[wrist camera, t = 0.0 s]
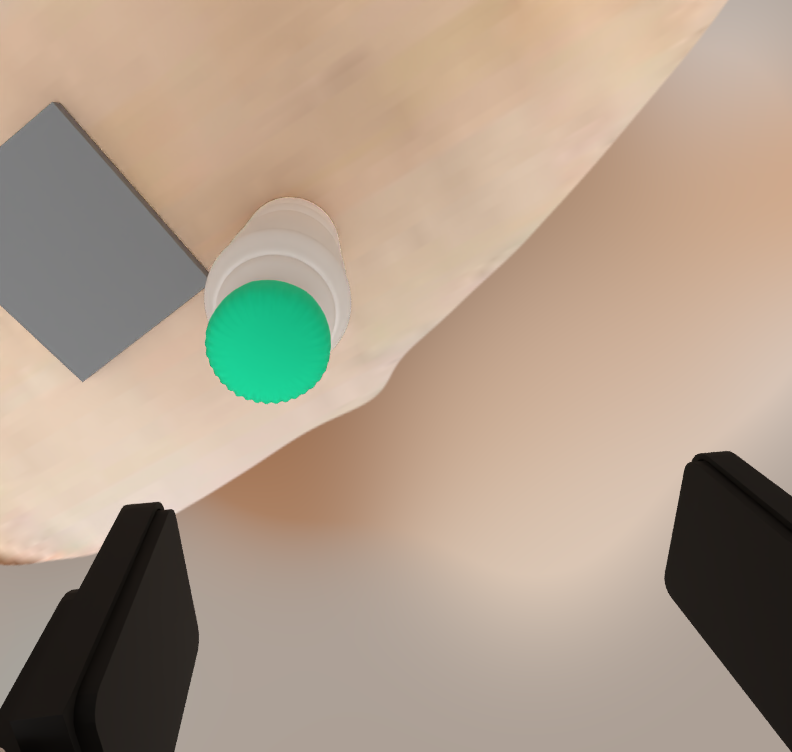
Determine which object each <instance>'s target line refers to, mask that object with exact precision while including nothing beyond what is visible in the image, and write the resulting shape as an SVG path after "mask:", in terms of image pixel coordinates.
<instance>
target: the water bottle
mask: <svg viewBox="0 0 792 752" xmlns="http://www.w3.org/2000/svg"><path fill="white" fill-rule="evenodd" d="M204 304H205V311H206V316H207V319H208V322H209V324H208V327H207V330H206V340H205V346H206V355H207V357H208V358H209V363H210V366H211V367H212V368H213V370H214V374H215V375H216V376H218V377H219V379H220V382H221V383H222V384H225V385H226V386H227V388H228V390H230V391H234V393H235V394H236V396H243V397H244V398H245V399H246V400H253V401H254V402H256V403H259V402H263V403H265V404H268V403H270V402H273V403H275V404H278V403H279V402H281V401H283V402H288V401H289V400H290V399H291V398H292V399H296V398H297V397H298V396H299V395H301V394H305V393H306V392H307V391H308V390H309V389H312V388H313V387H314V386H315V384H316V382H318V381H319V380H320V379H321V377H322V375H323V373H324V372H325V371H326V368H327V364H328V361H329V357H330V352H331V351H332V350H333V349H334V348H335V346H336V345H337V344H338V343H339V341H340V340H341V338H342V336H343V334H344V332H345V330H346V328H347V325H348V322H349V318H350V313H351V291H350V286H349V282H348V279H347V276H346V270H345V265H344V261H343V257H342V254H341V247H340V243H339V237H338V233H337V230H336V228H335V225H334V224H333V222H332V220H331V219H330V217H329V216H328V215H327V214H326V213H325V212H324V211H323V210H322V209H321V208H320V207H319V206H317V205H316V204H314V203H312V202H310V201H308V200H305V199H302V198H296V197H283V198H278V199H275V200H272V201H270V202H268V203H266V204H264V205H263V206H262V207H260V208H259V209H258V210H257V211H256V212H255V213H254V214H253V216H252V217H251V219H250V220H249V221H248V222H247V223H246V225H245V226H244V228H243V229H242V230H241V231H240V232H239V233H238V234H237V235H236V236H235V237H234V239H233V240H232V241H231V243H230V244H229V245H228V246H227V247H226V248H225V249H224V250H223V251H222V252H221V253H220V254H219V256H218V257H217V258H216V260H215V261H214V263H213V265H212V267H211V269H210V271H209V274H208V277H207V280H206V285H205V292H204Z"/></svg>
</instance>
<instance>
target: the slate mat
mask: <svg viewBox="0 0 792 752" xmlns="http://www.w3.org/2000/svg"><path fill="white" fill-rule="evenodd" d="M208 274H209V273H208V272H207V271H206V270H205V268H204V267H203V266H202V265H201V264H200V263H199V262H198V260H197V259H196V258H195V257H194V256H193V255H192V254H191V252H190V251H189V250H188V249H187V248H186V247H185V246H184V244H183V243H182V242H181V241H180V240H179V239H178V238H177V236H176V235H175V234H174V233H173V232H172V231H171V230H170V228H169V227H168V226H167V225H166V224H165V223H164V222H163V220H162V219H161V218H160V217H159V216H158V215H157V214H156V212H155V211H154V210H153V209H152V208H151V207H150V206H149V204H148V203H147V202H146V201H145V200H144V199H143V198H142V196H141V195H140V194H139V193H138V192H137V191H136V190H135V188H134V187H133V186H132V185H131V184H130V183H129V182H128V180H127V179H126V178H125V177H124V176H123V175H122V174H121V172H120V171H119V170H118V169H117V168H116V167H115V166H114V164H113V163H112V162H111V161H110V160H109V159H108V158H107V156H106V155H105V154H104V153H103V152H102V151H101V150H100V148H99V147H98V146H97V145H96V144H95V143H94V142H93V140H92V139H91V138H90V137H89V136H88V135H87V134H86V132H85V131H84V130H83V129H82V128H81V127H80V126H79V124H78V123H77V122H76V121H75V120H74V119H73V118H72V116H71V115H70V114H69V113H68V112H67V111H66V110H65V108H64V107H63V106H62V105H61V104H60V103H56V102H52V103H51V104H49V105H48V106H47V107H46V108H45V109H44V110H42V111H41V112H40V113H39V114H38V115H37V116H36V117H34V118H33V119H32V120H31V121H30V122H29V123H27V124H26V125H25V126H24V127H23V128H22V129H20V130H19V131H18V132H17V133H16V134H15V135H13V136H12V137H11V138H10V139H9V140H8V141H6V142H5V143H4V144H3V145H2V146H1V147H0V305H1V306H2V307H3V308H4V309H5V310H6V311H7V312H8V313H9V314H10V315H11V316H12V317H14V318H15V319H16V320H17V321H18V322H19V323H20V324H21V325H22V326H23V327H24V328H25V329H26V330H27V331H28V332H30V333H31V334H32V335H33V336H34V337H35V338H36V339H37V340H38V341H39V342H40V343H41V344H42V345H43V346H45V347H46V348H47V349H48V350H49V351H50V352H51V353H52V354H53V355H54V356H55V357H56V358H57V359H58V360H60V361H61V362H62V363H63V364H64V365H65V366H66V367H67V368H68V369H69V370H70V371H71V372H72V373H73V374H75V375H76V376H77V377H78V378H79V379H80V380H81V381H82V382H83V381H85V380H86V379H87V378H88V377H90V376H91V375H92V374H94V373H95V372H96V371H98V370H99V369H100V368H101V367H103V366H104V365H105V364H107V363H108V362H109V361H110V360H112V359H113V358H114V357H116V356H117V355H118V354H120V353H121V352H122V351H123V350H125V349H126V348H127V347H129V346H130V345H131V344H132V343H134V342H135V341H136V340H138V339H139V338H140V337H141V336H143V335H144V334H145V333H147V332H148V331H149V330H151V329H152V328H153V327H154V326H156V325H157V324H158V323H160V322H161V321H162V320H163V319H165V318H166V317H167V316H169V315H170V314H171V313H173V312H174V311H175V310H176V309H178V308H179V307H180V306H182V305H183V304H184V303H185V302H187V301H188V300H189V299H191V298H192V297H193V296H194V295H196V294H197V293H198V292H200V291H201V290H202V289H204V288H205V285H206V280H207V277H208Z"/></svg>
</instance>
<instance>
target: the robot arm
mask: <svg viewBox="0 0 792 752" xmlns="http://www.w3.org/2000/svg"><path fill="white" fill-rule="evenodd" d="M664 579H665V585H666V589H667V591H668V593H669V595H670V596H671V598H672V599H673V600H674V602H675V603H676V604H677V605H678V607H679V608H680V609H681V611H682V612H683V613H684V614H685V616H686V617H687V618H688V620H690V622H691V623H692V625H693V626H694V627H695V628H696V630H697V631H698V632H699V634H700V635H701V636H702V638H703V639H704V640H705V641H706V643H707V644H708V645H709V647H710V648H711V649H712V650H713V652H714V653H715V654H716V655H717V657H718V658H719V659H720V661H721V662H722V663H723V664H724V666H725V667H726V668H727V670H728V671H729V672H730V674H731V675H732V676H733V677H734V679H735V680H736V681H737V682H738V684H739V685H740V686H741V687H742V689H743V690H744V692H745V693H746V694H747V695H748V696H749V698H750V699H751V701H752V702H753V703H754V704H755V706H756V707H757V708H758V709H759V711H760V712H761V713H762V715H763V716H764V717H765V719H766V720H767V721H768V722H769V724H770V725H771V726H772V728H773V729H774V730H775V731H776V733H777V734H778V735H779V737H780V738H781V739H782V740H783V742H784V743H785V744H786V746H787V747H788V748H789V749H790V751H791V752H792V496H791V495H789V494H788V493H786V492H785V491H784V490H783V489H781V488H780V487H779V486H777V485H776V484H774V483H773V482H772V481H770V480H769V479H767V478H766V477H765V476H764V475H762V474H761V473H760V472H758V471H757V470H756V469H754V468H753V467H752V466H750V465H749V464H748V463H746V462H745V461H744V460H742V459H741V458H740V457H738V456H737V455H736V454H734V453H732V452H730V451H723V452H711V453H700V454H697V455H695V457H694V458H693V459H692V462H690V463H688V464H687V465H686V466H685V470H684V474H683V480H682V485H681V491H680V496H679V501H678V506H677V512H676V517H675V522H674V528H673V533H672V539H671V544H670V549H669V554H668V560H667V565H666V570H665V578H664ZM198 644H199V632H198V625H197V620H196V615H195V610H194V605H193V600H192V595H191V590H190V585H189V580H188V575H187V569H186V564H185V559H184V554H183V550H182V544H181V539H180V534H179V529H178V524H177V519H176V515H175V512H174V510H172V509H170V510H164V507H163V505H162V504H161V503H160V502H152V503H141V504H130V505H125V506H123V508H122V509H121V511H120V513H119V515H118V516H117V518H116V520H115V522H114V524H113V526H112V528H111V530H110V532H109V533H108V535H107V537H106V539H105V541H104V543H103V545H102V547H101V549H100V550H99V552H98V554H97V556H96V558H95V560H94V562H93V564H92V565H91V568H90V569H89V571H88V573H87V575H86V577H85V579H84V581H83V583H82V584H81V586H80V588H79V589H76V590H71V591H69V592H67V593H66V594H65V596H64V597H63V598H62V599H61V601H60V603H59V604H58V606H57V608H56V610H55V612H54V613H53V615H52V617H51V619H50V621H49V622H48V624H47V626H46V628H45V630H44V631H43V633H42V635H41V637H40V639H39V640H38V642H37V644H36V646H35V647H34V649H33V651H32V653H31V655H30V657H29V658H28V660H27V662H26V664H25V665H24V667H23V669H22V671H21V673H20V674H19V676H18V678H17V680H16V682H15V683H14V685H13V687H12V689H11V691H10V692H9V694H8V696H7V698H6V700H5V701H4V703H3V705H2V707H1V708H0V752H174V750H175V746H176V742H177V737H178V733H179V729H180V724H181V720H182V716H183V712H184V707H185V703H186V699H187V694H188V690H189V686H190V682H191V677H192V673H193V669H194V665H195V660H196V656H197V651H198Z"/></svg>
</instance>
